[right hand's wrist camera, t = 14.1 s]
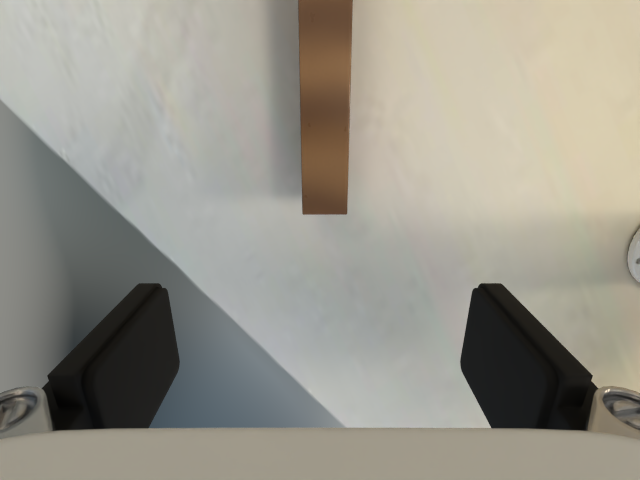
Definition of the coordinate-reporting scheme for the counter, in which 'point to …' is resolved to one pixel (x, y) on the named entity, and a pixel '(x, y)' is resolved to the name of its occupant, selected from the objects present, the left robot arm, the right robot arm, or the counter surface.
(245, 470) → the right robot arm
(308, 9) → the bar
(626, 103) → the counter surface
